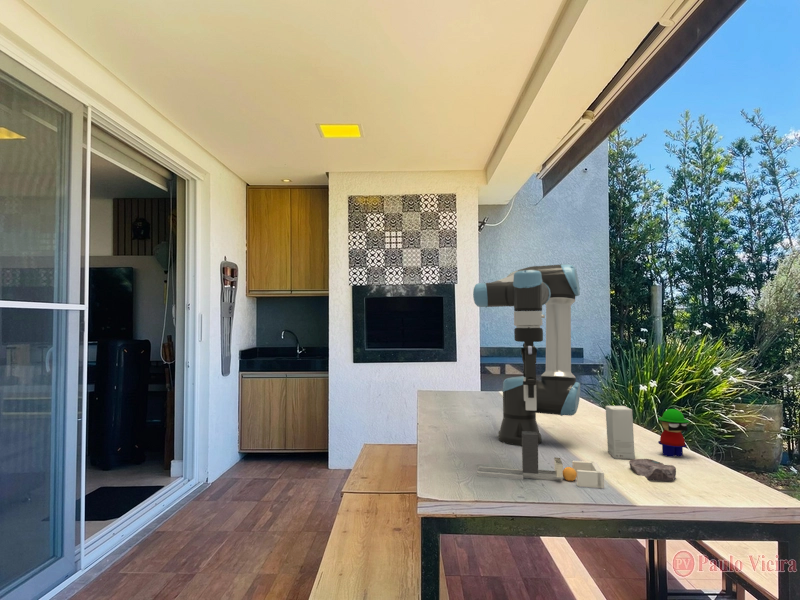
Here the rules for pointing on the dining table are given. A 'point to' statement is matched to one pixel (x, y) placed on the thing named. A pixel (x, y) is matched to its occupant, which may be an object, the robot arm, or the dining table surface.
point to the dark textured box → (532, 460)
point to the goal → (588, 474)
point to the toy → (673, 433)
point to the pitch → (500, 475)
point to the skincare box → (620, 432)
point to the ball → (569, 474)
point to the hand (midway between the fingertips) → (529, 405)
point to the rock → (653, 469)
